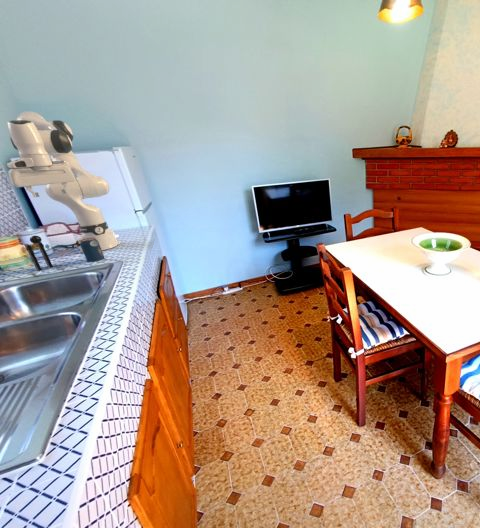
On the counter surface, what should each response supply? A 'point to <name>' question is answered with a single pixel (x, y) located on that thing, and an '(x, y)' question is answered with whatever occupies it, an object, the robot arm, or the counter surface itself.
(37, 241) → the lever
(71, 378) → the counter surface
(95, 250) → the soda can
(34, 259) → the bracket
